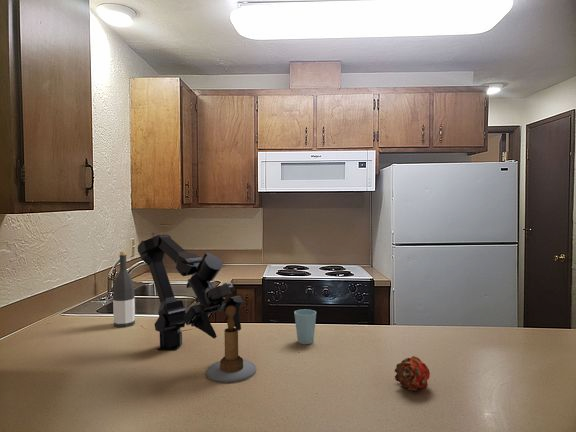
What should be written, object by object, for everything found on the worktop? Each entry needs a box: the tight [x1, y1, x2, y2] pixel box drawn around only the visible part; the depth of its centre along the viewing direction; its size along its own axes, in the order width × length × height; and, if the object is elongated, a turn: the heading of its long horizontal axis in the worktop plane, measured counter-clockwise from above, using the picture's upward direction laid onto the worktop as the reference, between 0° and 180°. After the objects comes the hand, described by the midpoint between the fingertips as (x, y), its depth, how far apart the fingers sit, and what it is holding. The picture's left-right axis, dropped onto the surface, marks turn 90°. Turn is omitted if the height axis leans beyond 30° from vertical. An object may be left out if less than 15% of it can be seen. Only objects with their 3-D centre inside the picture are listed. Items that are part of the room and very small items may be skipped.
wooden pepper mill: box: [219, 305, 244, 373], centre depth 114 cm, size 7×6×18 cm
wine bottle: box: [112, 250, 136, 329], centre depth 161 cm, size 8×8×30 cm
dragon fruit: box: [394, 355, 431, 392], centre depth 103 cm, size 8×8×12 cm
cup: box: [293, 308, 317, 345], centre depth 139 cm, size 8×8×10 cm
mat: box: [206, 359, 257, 384], centre depth 114 cm, size 14×14×1 cm
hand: (228, 333), depth 114 cm, fingers open, 9 cm apart
